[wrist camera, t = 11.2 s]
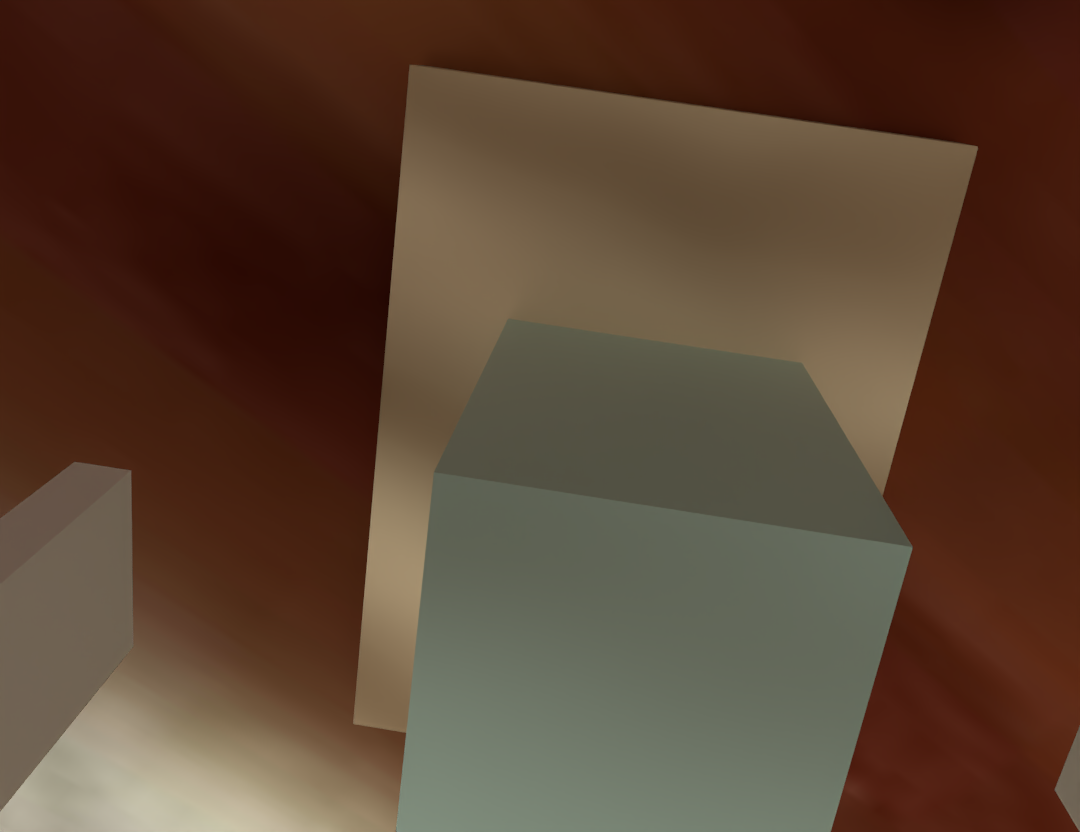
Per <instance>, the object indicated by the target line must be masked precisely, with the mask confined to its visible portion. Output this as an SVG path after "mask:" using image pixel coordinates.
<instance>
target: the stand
mask: <svg viewBox="0 0 1080 832" xmlns="http://www.w3.org/2000/svg"><path fill="white" fill-rule="evenodd" d="M977 150H978V146H973V145H968V144H964V143H959V142H953V141H946V140H939V139H932V138H925V137H918V136H911V135H904V134H897V133H890V132H883V131H876V130H870V129H863V128H856V127H849V126H842V125H835V124H828V123H821V122H814V121H807V120H800V119H793V118H786V117H779V116H772V115H765V114H759V113H752V112H745V111H738V110H731V109H724V108H717V107H710V106H703V105H696V104H689V103H682V102H675V101H668V100H661V99H654V98H647V97H641V96H634V95H627V94H620V93H613V92H606V91H599V90H592V89H585V88H578V87H571V86H564V85H557V84H550V83H543V82H536V81H530V80H523V79H516V78H509V77H502V76H495V75H488V74H481V73H474V72H467V71H460V70H453V69H446V68H439V67H432V66H425V65H410V67H409V78H408V90H407V102H406V113H405V125H404V137H403V148H402V160H401V172H400V183H399V195H398V207H397V218H396V230H395V242H394V253H393V265H392V277H391V288H390V300H389V312H388V323H387V335H386V347H385V358H384V370H383V382H382V393H381V405H380V417H379V428H378V440H377V452H376V463H375V475H374V487H373V498H372V510H371V522H370V533H369V545H368V557H367V568H366V580H365V592H364V603H363V615H362V627H361V638H360V650H359V662H358V673H357V685H356V697H355V708H354V720H353V724H357V725H363V726H369V727H375V728H381V729H387V730H393V731H399V732H405V733H406V731H407V722H408V712H409V703H410V694H411V684H412V675H413V665H414V656H415V646H416V637H417V627H418V618H419V608H420V599H421V589H422V580H423V570H424V561H425V551H426V542H427V532H428V523H429V514H430V504H431V495H432V485H433V476H434V471H435V469H436V467H437V465H438V463H439V461H440V458H441V456H442V454H443V452H444V450H445V448H446V446H447V444H448V442H449V440H450V438H451V436H452V434H453V432H454V430H455V427H456V425H457V423H458V421H459V419H460V417H461V415H462V413H463V411H464V409H465V407H466V405H467V403H468V401H469V399H470V396H471V394H472V392H473V390H474V388H475V386H476V384H477V382H478V380H479V378H480V376H481V374H482V372H483V370H484V368H485V365H486V363H487V361H488V359H489V357H490V355H491V353H492V351H493V349H494V347H495V345H496V343H497V341H498V339H499V337H500V334H501V332H502V330H503V328H504V326H505V324H506V322H507V320H508V319H514V320H520V321H527V322H533V323H540V324H547V325H553V326H560V327H567V328H573V329H580V330H587V331H593V332H600V333H606V334H613V335H620V336H626V337H633V338H640V339H646V340H653V341H660V342H666V343H673V344H679V345H686V346H693V347H699V348H706V349H713V350H719V351H726V352H733V353H739V354H746V355H752V356H759V357H766V358H772V359H779V360H786V361H792V362H799V363H802V364H803V365H804V367H805V369H806V370H807V372H808V374H809V375H810V377H811V378H812V380H813V382H814V383H815V385H816V387H817V388H818V390H819V392H820V393H821V395H822V397H823V398H824V400H825V402H826V403H827V405H828V407H829V408H830V410H831V412H832V413H833V415H834V417H835V418H836V420H837V422H838V423H839V425H840V427H841V428H842V430H843V432H844V433H845V435H846V437H847V438H848V440H849V442H850V443H851V445H852V447H853V448H854V450H855V452H856V453H857V455H858V457H859V458H860V460H861V462H862V463H863V465H864V467H865V468H866V470H867V472H868V473H869V475H870V477H871V478H872V480H873V482H874V483H875V485H876V487H877V488H878V490H879V492H880V493H881V495H882V496H883V493H884V489H885V485H886V482H887V478H888V474H889V471H890V467H891V463H892V460H893V456H894V452H895V449H896V445H897V441H898V438H899V434H900V431H901V427H902V423H903V420H904V416H905V412H906V409H907V405H908V401H909V398H910V394H911V390H912V387H913V383H914V380H915V376H916V372H917V369H918V365H919V361H920V358H921V354H922V350H923V347H924V343H925V339H926V336H927V332H928V328H929V325H930V321H931V318H932V314H933V310H934V307H935V303H936V299H937V296H938V292H939V288H940V285H941V281H942V277H943V274H944V270H945V266H946V263H947V259H948V256H949V252H950V248H951V245H952V241H953V237H954V234H955V230H956V226H957V223H958V219H959V215H960V212H961V208H962V205H963V201H964V197H965V194H966V190H967V186H968V183H969V179H970V175H971V172H972V168H973V164H974V161H975V157H976V153H977Z"/></svg>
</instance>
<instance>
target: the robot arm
mask: <svg viewBox="0 0 1080 832" xmlns="http://www.w3.org/2000/svg"><path fill="white" fill-rule="evenodd" d="M132 648H133V578H132V496H131V470H125V469H118V468H112V467H105V466H99V465H92V464H86V463H79V462H74V463H72V464H71V465H70V466H68V467H67V468H66V469H64V470H63V471H62V472H61V473H59V474H58V475H57V476H55V477H54V478H53V479H51V480H50V481H49V482H47V483H46V484H45V485H43V486H42V487H41V488H40V489H38V490H37V491H36V492H34V493H33V494H32V495H30V496H29V497H28V498H26V499H25V500H24V501H22V502H21V503H20V504H19V505H17V506H16V507H15V508H13V509H12V510H11V511H9V512H8V513H7V514H5V515H4V516H3V517H1V518H0V811H1V810H2V809H3V807H4V806H5V805H6V804H7V802H8V801H9V800H10V799H11V798H12V796H13V795H14V794H15V793H16V791H17V790H18V789H19V788H20V786H21V785H22V784H23V783H24V781H25V780H26V779H27V778H28V776H29V775H30V774H31V773H32V771H33V770H34V769H35V768H36V767H37V765H38V764H39V763H40V762H41V760H42V759H43V758H44V757H45V755H46V754H47V753H48V752H49V750H50V749H51V748H52V747H53V745H54V744H55V743H56V742H57V740H58V739H59V738H60V737H61V736H62V734H63V733H64V732H65V731H66V729H67V728H68V727H69V726H70V724H71V723H72V722H73V721H74V719H75V718H76V717H77V716H78V714H79V713H80V712H81V711H82V710H83V708H84V707H85V706H86V705H87V703H88V702H89V701H90V700H91V698H92V697H93V696H94V695H95V693H96V692H97V691H98V690H99V688H100V687H101V686H102V685H103V683H104V682H105V681H106V680H107V679H108V677H109V676H110V675H111V674H112V672H113V671H114V670H115V669H116V667H117V666H118V665H119V664H120V662H121V661H122V660H123V659H124V657H125V656H126V655H127V654H128V652H129V651H130V650H131V649H132ZM1055 791H1056V793H1057V795H1058V796H1059V798H1060V800H1061V801H1062V803H1063V805H1064V806H1065V808H1066V810H1067V811H1068V813H1069V815H1070V817H1071V818H1072V820H1073V822H1074V823H1075V825H1076V827H1077V828H1078V830H1079V832H1080V727H1079V729H1078V732H1077V734H1076V737H1075V739H1074V742H1073V745H1072V747H1071V750H1070V752H1069V755H1068V757H1067V760H1066V762H1065V765H1064V767H1063V770H1062V772H1061V775H1060V778H1059V780H1058V783H1057V785H1056V788H1055Z"/></svg>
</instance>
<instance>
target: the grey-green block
mask: <svg viewBox="0 0 1080 832" xmlns="http://www.w3.org/2000/svg"><path fill="white" fill-rule="evenodd" d="M912 548H913V547H912V545H911V543H910V542H909V540H908V538H907V537H906V535H905V533H904V532H903V530H902V528H901V527H900V525H899V523H898V522H897V520H896V518H895V517H894V515H893V513H892V512H891V510H890V508H889V507H888V505H887V503H886V502H885V500H884V498H883V497H882V495H881V493H880V492H879V490H878V488H877V487H876V485H875V483H874V482H873V480H872V478H871V477H870V475H869V473H868V472H867V470H866V468H865V467H864V465H863V463H862V462H861V460H860V458H859V457H858V455H857V453H856V452H855V450H854V448H853V447H852V445H851V443H850V442H849V440H848V438H847V437H846V435H845V433H844V432H843V430H842V428H841V427H840V425H839V423H838V422H837V420H836V418H835V417H834V415H833V413H832V412H831V410H830V408H829V407H828V405H827V403H826V402H825V400H824V398H823V397H822V395H821V393H820V392H819V390H818V388H817V387H816V385H815V383H814V382H813V380H812V378H811V377H810V375H809V374H808V372H807V370H806V369H805V367H804V365H803V364H802V363H799V362H792V361H786V360H779V359H772V358H766V357H759V356H752V355H746V354H739V353H733V352H726V351H719V350H713V349H706V348H699V347H693V346H686V345H679V344H673V343H666V342H660V341H653V340H646V339H640V338H633V337H626V336H620V335H613V334H606V333H600V332H593V331H587V330H580V329H573V328H567V327H560V326H553V325H547V324H540V323H533V322H527V321H520V320H514V319H508V320H507V322H506V324H505V326H504V328H503V330H502V332H501V334H500V337H499V339H498V341H497V343H496V345H495V347H494V349H493V351H492V353H491V355H490V357H489V359H488V361H487V363H486V365H485V368H484V370H483V372H482V374H481V376H480V378H479V380H478V382H477V384H476V386H475V388H474V390H473V392H472V394H471V396H470V399H469V401H468V403H467V405H466V407H465V409H464V411H463V413H462V415H461V417H460V419H459V421H458V423H457V425H456V427H455V430H454V432H453V434H452V436H451V438H450V440H449V442H448V444H447V446H446V448H445V450H444V452H443V454H442V456H441V458H440V461H439V463H438V465H437V467H436V469H435V471H434V476H433V485H432V495H431V504H430V514H429V523H428V532H427V542H426V551H425V561H424V570H423V580H422V589H421V599H420V608H419V618H418V627H417V637H416V646H415V656H414V665H413V675H412V684H411V694H410V703H409V712H408V722H407V731H406V741H405V750H404V760H403V769H402V779H401V788H400V798H399V807H398V817H397V826H396V832H831V828H832V825H833V822H834V818H835V815H836V811H837V808H838V804H839V801H840V797H841V794H842V790H843V787H844V783H845V780H846V777H847V773H848V770H849V766H850V763H851V759H852V756H853V752H854V749H855V745H856V742H857V739H858V735H859V732H860V728H861V725H862V721H863V718H864V714H865V711H866V707H867V704H868V700H869V697H870V694H871V690H872V687H873V683H874V680H875V676H876V673H877V669H878V666H879V662H880V659H881V656H882V652H883V649H884V645H885V642H886V638H887V635H888V631H889V628H890V624H891V621H892V617H893V614H894V611H895V607H896V604H897V600H898V597H899V593H900V590H901V586H902V583H903V579H904V576H905V572H906V569H907V566H908V562H909V559H910V555H911V552H912Z"/></svg>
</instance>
